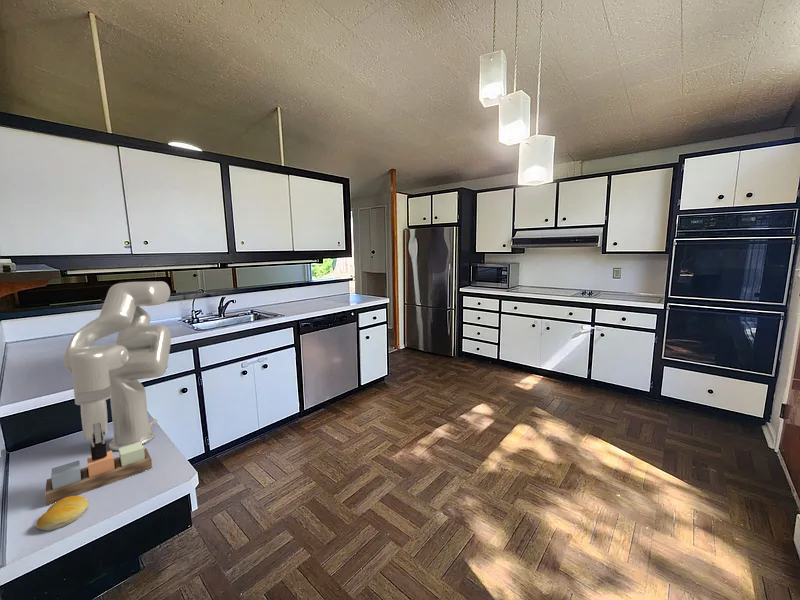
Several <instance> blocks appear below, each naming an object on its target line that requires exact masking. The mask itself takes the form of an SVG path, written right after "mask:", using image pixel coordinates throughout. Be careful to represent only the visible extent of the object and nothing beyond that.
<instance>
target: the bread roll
mask: <svg viewBox="0 0 800 600" xmlns="http://www.w3.org/2000/svg"><path fill="white" fill-rule="evenodd" d="M89 505H90V504H89V500H88V499H87V498H86V497H84V496H81V495H76V496H70V497H66V498H63V499H61V500H59V501H57V502H56V503H54V504H51V505H50V507H48V508H47V510H46V512H44V513H43V514H42V515H41V516H40V517H39V518H38V519H37V521H36V528H37V529H40V530H41V531H42V530H43V531H47V532H49V531H54V530H58V529H60V528H63V527H65V526H67V525H70V524H71V523H73V522H75V521H77V520H79V519H80V518H81V517H82V516H83V515H84V514H85V512H86V511H87V509H88V508H89Z"/></svg>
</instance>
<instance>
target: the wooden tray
mask: <svg viewBox="0 0 800 600" xmlns="http://www.w3.org/2000/svg"><path fill="white" fill-rule="evenodd" d="M148 451H149V450H148V449H147V447H144V453H145V459H144V460H141V461H138V462H135V463H132V464H129V465H126V466H123V467H122V466H121V463H120V456H117V457H114V466H115V469H114V470H111V471H108V472H105V473H102V474H99V475H96V476H93V477H90V478H89V471H88V466H85V467H82V468H80V471H81V481H78V482H75V483H72V484H69V485H66V486H63V487H60V488H57V489H54V490H53V487H52V479H51V477H50V478H47V479H46V483H45V494H44V495H45V504H46V506H47V505H48V506H51V505H53V503H55V502H57V501H59V500H61V499H63V498H66V497H70V496H80V495H82V494H84V493H88V492H90V491H93V490H96V489H98V488H101V487H104V486H107V485H110V484H113V483H116V482H118V480H119V481H121V480H125V479H127V478H129V476H130V477H132V475H133V476H136V475H138V474H141V473H143V472H142V471H144V472H146V471H145V470H147V471H149V469H150V470H152V469H153V463H152V462H153V461H152V460H153V459H152V458H151V455H150V452H148ZM151 468H152V469H151ZM140 472H141V473H140ZM137 473H138V474H137ZM135 474H136V475H135ZM115 481H116V482H115ZM112 482H113V483H112ZM109 483H110V484H109ZM50 504H51V505H50Z"/></svg>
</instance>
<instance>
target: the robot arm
mask: <svg viewBox="0 0 800 600" xmlns="http://www.w3.org/2000/svg"><path fill="white" fill-rule="evenodd" d="M170 296H171V289H170V286H169V284H168V283H167V282H165V281H162V280H161V281H160V280H159V281H156V280H154V281H152V280H151V281H126V282H119V283H115V284H113V285H112V286H111V287H109V289H108V291H107V293H106V297H105V299H104V302H103V305H102V308H101V311H100V313H99V316H98V317H96V318H94V319H93V320H91V321H90V322H88V323H87V324H85V325H84V326H83V327H81V328H80V329H79V330H77V331H76V332H75V333H74V334H73V336H72V337H71V338H70V340H69V343H68V345H67V347H66V351H65V353H64V356H63V366H64V368H65V369H66V370H67V372H69V373H71V375H72V385H73V395H74V404H75V405H77V406H80V418H81V426H82V435H83V440H84V441H86V442H88V440H90V443H91V444H90V454H91V456H90V457H92V460H97V459H100V458H103V457H106V456H107V452H108V451H107V443H106V441H105V436H107V435H108V429H109V428H108V425H109V424H108V420H109V419H108V408H107V407H108V406H107V400H109V399H110V410H111V417H112V427H113V428H112V429H113V437H114V438H113V439H112V440H111V441H110V442H109V443H108V448H109V450H110V451H111V450H112V451H119V448H121V447H125V446H128V445H131V444H135V443H138V442H142V444H143V445H145V444H146V443H145V442H147V441H149V440H151V439H152V438H153V437H154V438H155V436H156V434H155V433H156V432H155V430H152V429H151V428H152V427H153V426H154V425H156V424H157V423H158V419H156V418H153V419H152V420H150V421H149V415H148V404H147V394H146V393H147V392H146V389H145V387H144V385H143V384H142V383H141V382H140V381H139V380H145V379H146V380H147V379H153V378H154V379H155V378H159V377H162V376H163V375H164V374H166V371H167V368H168V365H169V364H168V363H169V358H170V357H169V356H170V351H171V345H172V343H171V342H172V336H171V331H170V329H169V328H168V327H167V326H166V325H162V324H155V325H154V324H153V325H150V324H151V316H150V315H149V313H148V312H147V311H146V310H145V309H144V308H143V307H149V306H159V305H163V304H165V303H167V302H168V301H169V299H170ZM116 333H117V336H116V343H115V344H105V345H92V344H93V343H96V342H97V341H98V340H101V339H103V338H104V337H109V336H110V335H113V334H116ZM91 345H92V346H91ZM154 435H155V436H154ZM154 438H153V439H154ZM153 439H152V440H153ZM152 440H151V441H152ZM149 442H150V441H149ZM144 443H145V444H144ZM147 443H148V442H147Z"/></svg>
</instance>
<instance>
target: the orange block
mask: <svg viewBox="0 0 800 600" xmlns="http://www.w3.org/2000/svg"><path fill="white" fill-rule="evenodd" d="M114 458H115V457H114V454H113V450H111V449H110V450H109V451H107V456H106V457H103V458H100V459H97V460H92V456H89V457H87V458H86V459H87V460H86V461H87V467H88V471H89V478H90V477H93V476H96V475H99V474H102V473H105V472H108V471H111V470H114V469H115V466H114Z"/></svg>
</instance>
